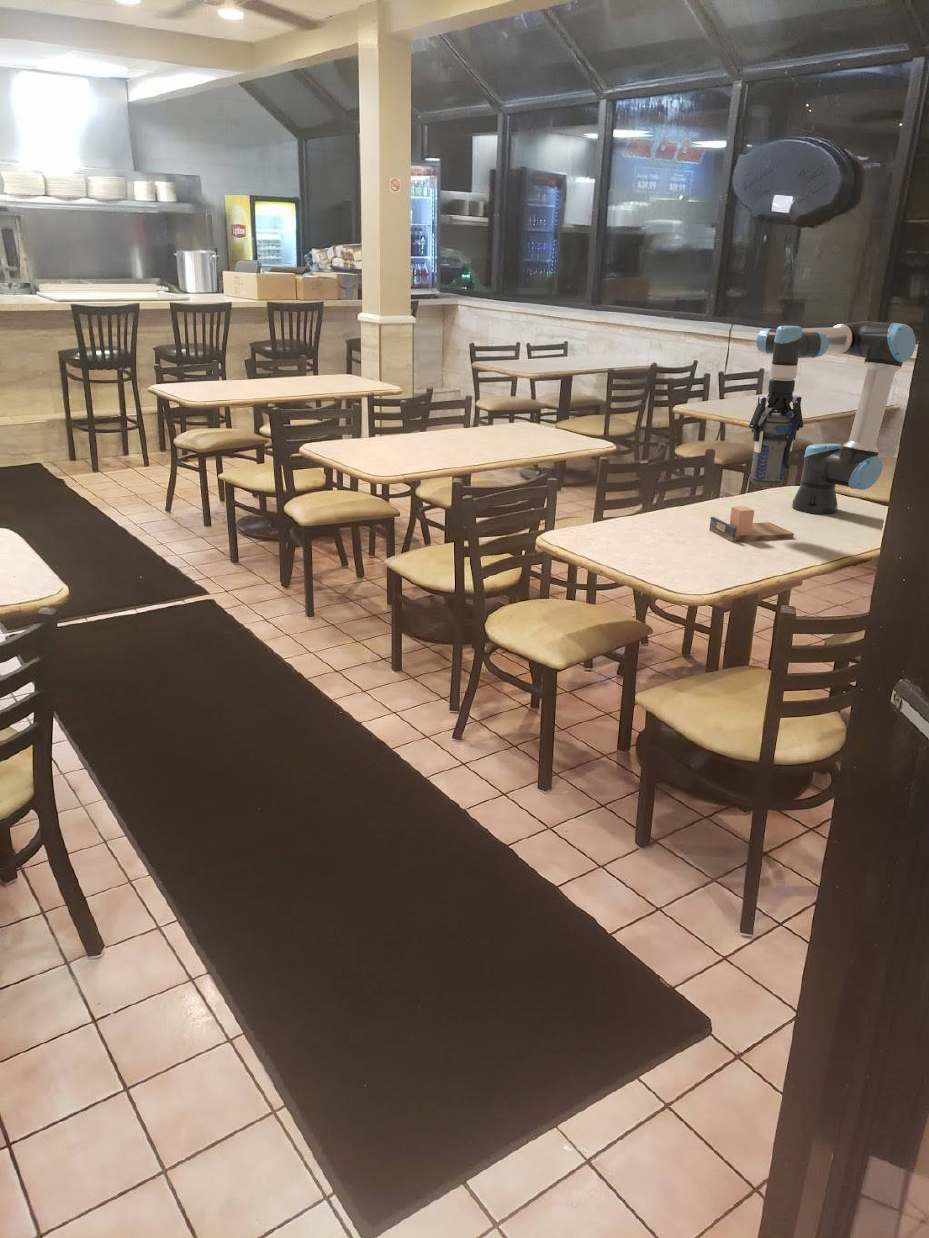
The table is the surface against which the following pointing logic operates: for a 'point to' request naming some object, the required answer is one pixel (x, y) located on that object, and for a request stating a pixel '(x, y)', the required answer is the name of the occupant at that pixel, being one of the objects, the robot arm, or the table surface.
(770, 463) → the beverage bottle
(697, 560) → the table surface
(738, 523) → the carton block
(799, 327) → the robot arm
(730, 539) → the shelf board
